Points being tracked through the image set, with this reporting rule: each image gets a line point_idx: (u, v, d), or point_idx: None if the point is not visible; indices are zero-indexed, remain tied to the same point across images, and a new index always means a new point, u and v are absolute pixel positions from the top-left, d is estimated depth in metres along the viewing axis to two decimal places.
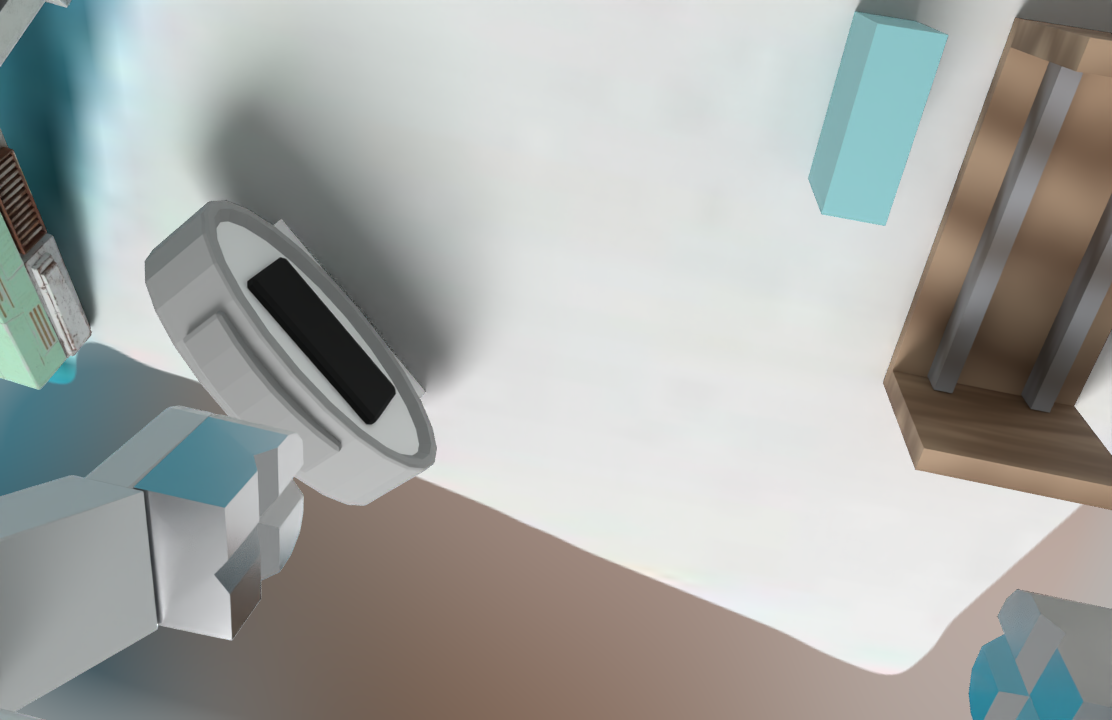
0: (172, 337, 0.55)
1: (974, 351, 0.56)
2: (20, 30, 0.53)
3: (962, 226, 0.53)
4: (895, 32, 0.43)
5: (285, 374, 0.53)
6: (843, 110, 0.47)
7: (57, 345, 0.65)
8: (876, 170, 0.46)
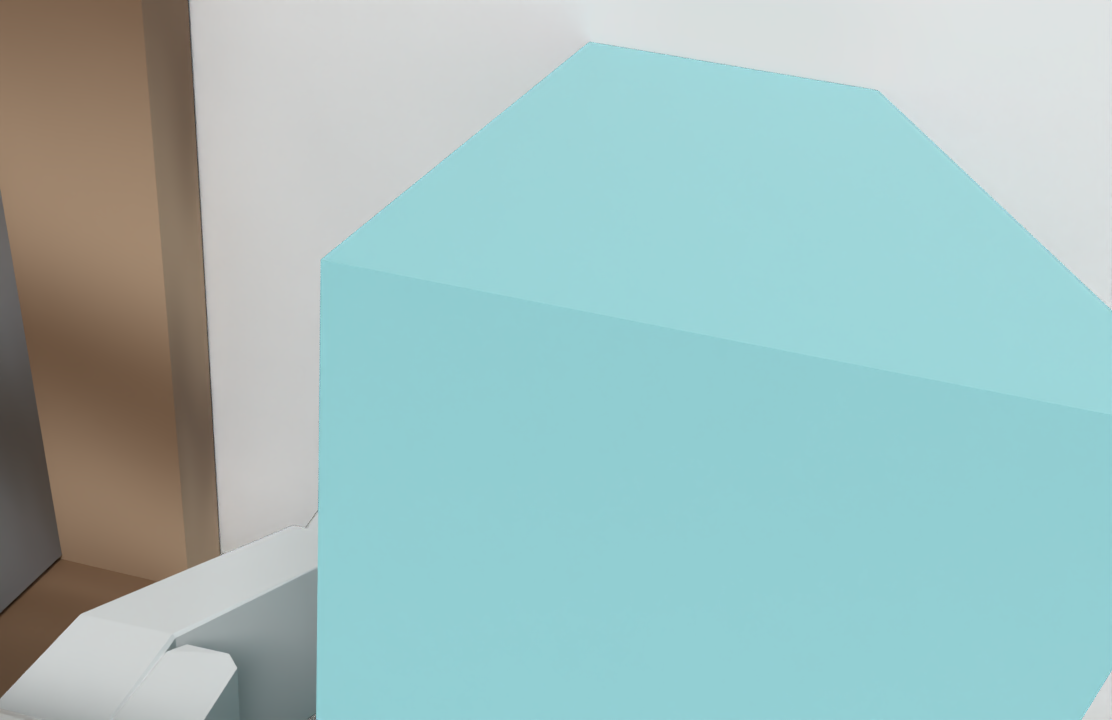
0: None
1: None
2: None
3: None
4: None
5: None
6: None
7: None
8: None
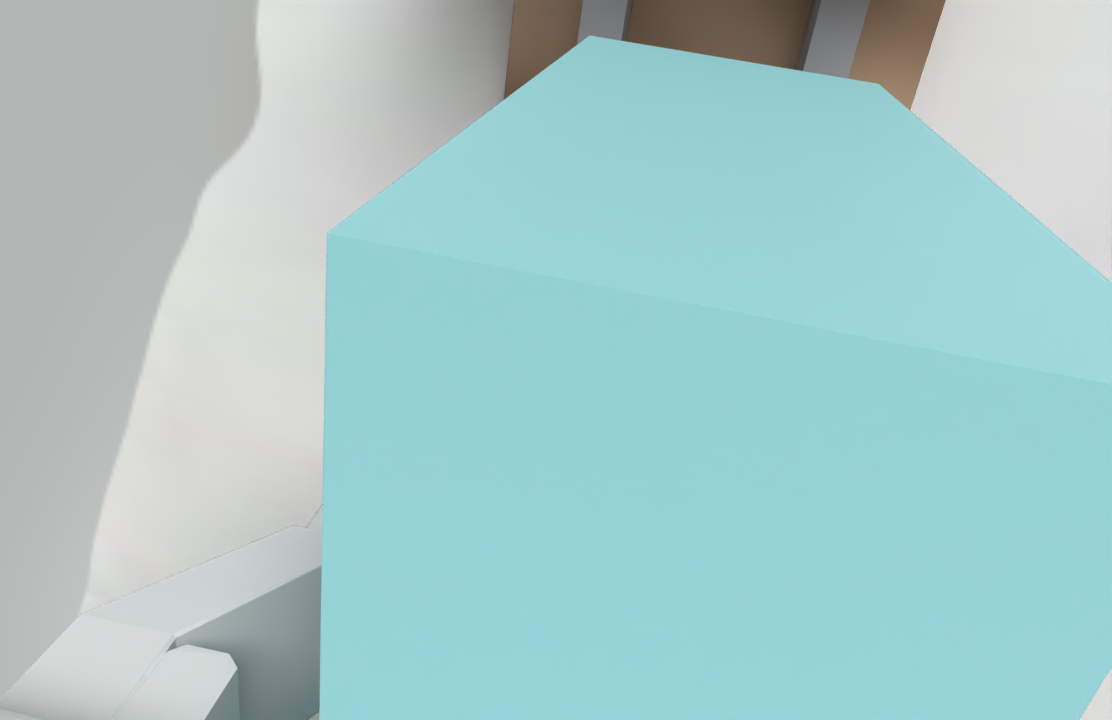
0: None
1: None
2: None
3: None
4: None
5: None
6: None
7: None
8: None
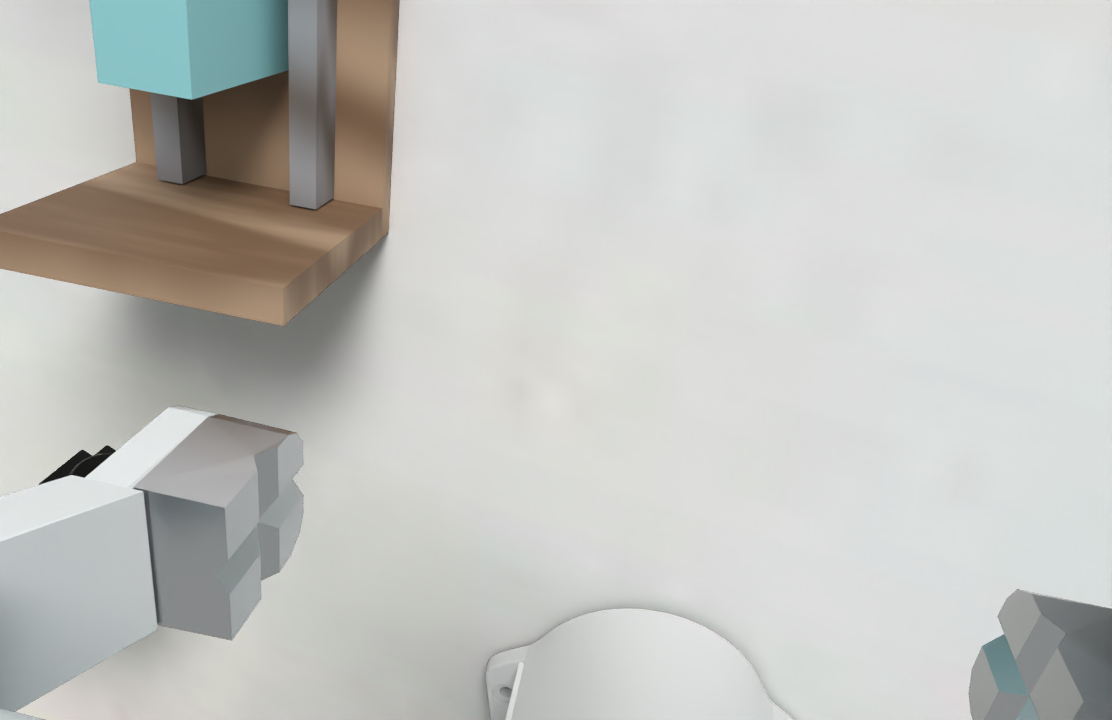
0: None
1: None
2: None
3: None
4: (165, 87, 0.30)
5: None
6: None
7: None
8: None
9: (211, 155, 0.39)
